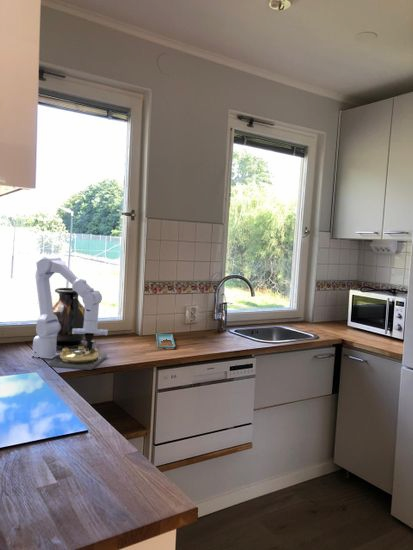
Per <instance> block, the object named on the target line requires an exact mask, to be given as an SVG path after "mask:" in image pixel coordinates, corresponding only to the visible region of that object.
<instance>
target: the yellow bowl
mask: <svg viewBox="0 0 413 550" xmlns="http://www.w3.org/2000/svg"><path fill="white" fill-rule="evenodd" d="M96 343H97V342H96V340H91V342H90V351H86V347H85V345H84V346H79V347H78V348H74V349H69V348H63V349H62V350H60V351H59V353H60V354H59V356H60V359H61V360H62V361H66V362H73V363H83V362H90V361H94V360H96V359H98V353H99V349H98V348H97V347H96Z"/></svg>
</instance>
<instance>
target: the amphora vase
mask: <svg viewBox="0 0 413 550" xmlns="http://www.w3.org/2000/svg"><path fill="white" fill-rule="evenodd" d="M54 292H55V293H56V294H58V296H59V297H58V298H59V299H58V301H57V302H56V303H55V304H54V305H53V313H54V314H55V315H56V316H57V317H58V322H59V323H60V326H61V328H60V331H59V332H58V335H57V343H56V350H60V351H62V349H63V348H69V349H74V348H78V347H79V346H84V347H85V344H86V343H85V341H84V340H86V338H85V334H72V329H78V328H83V326H84V312H85V308H84V306H83V304H81V302H80V300H79V297H80V295H79V294H78V293H77V292H76V291H75V290H74V289H73V288H72V287H59V288H56V289H54ZM47 322H48V321H47Z"/></svg>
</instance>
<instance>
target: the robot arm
mask: <svg viewBox="0 0 413 550" xmlns="http://www.w3.org/2000/svg"><path fill="white" fill-rule="evenodd" d="M55 273H56V274H59V275H61V276H62V277H63V278H64V279H65V280H67V282H68V283H70V284H72V287H71V288H73V289H74V290H75V291H76V292H77V293H78V294H79V297H81V298H82V302H83V305H84V306H83V307H84V308H85V312H84V326H83V328H78V329H72V334H85V341H86V347H85V348H86V351H90V342H91V341H93V338H94V335H97V336H98V335H99V336H100V335H101V336H102V335H103V336H108V331H109V330H108V329H101V328H98V322H99V307H100V303H101V302H102V299H103V296H102V294H101V292H100V291H99V290H94V288H93V287H91V286H90V284H88V283H87V280H86V279H83V278H78V277H77V276H76V275H75V274H74V272H73V271H72V270H71V268H69V267H68V266H67V265H66V263H65V261H64V260H63V259H62V258H61V257H60V256H47V257H46V256H42V257H40V258H39V259H38V261H37V262H36V271H35V283H36V290H37V298H38V306H39V317H38V318H37V320H36V326H35V327H36V328H35V332H36V334H37V335H35V337H33V340H32V355H31V357H32V356H34V357H33V358H38V357H40V359H51V360H54V359H55V358H57V357H59V356H60V352H57V349H56V343H57V335H58V332H59V331H60V328H61V326H60V323H59V322H58V317H57V316H56V315H55V314H54V313H53V306H54V305H53V298H52V292H51V291H52V290H51V289H52V288H51V283H50V278H51V277H52V276H53V275H55ZM47 321H48V322H47Z"/></svg>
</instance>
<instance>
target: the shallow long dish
mask: <svg viewBox="0 0 413 550" xmlns="http://www.w3.org/2000/svg"><path fill="white" fill-rule="evenodd" d="M155 336H156V347H157V349H158V348H174V349H175V348H176V344H175V339H174V336H173V334H172V333H171V334H168V333H156V334H155ZM166 339H167V340H171V341H172V344H173V346H159V343H160V344H161V341H163V340H166Z"/></svg>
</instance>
